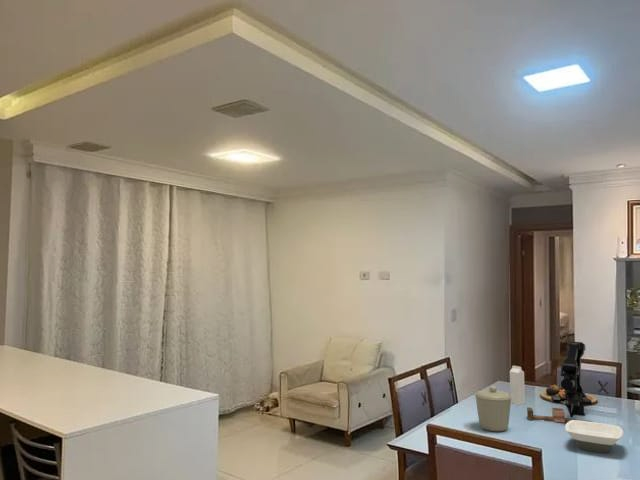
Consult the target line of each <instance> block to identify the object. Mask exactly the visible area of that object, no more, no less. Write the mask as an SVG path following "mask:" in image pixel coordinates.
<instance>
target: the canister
mask: <svg viewBox="0 0 640 480" xmlns="http://www.w3.org/2000/svg"><path fill="white" fill-rule="evenodd" d="M473 396H474V397H475V400H476V401H475V402H476V410H477V417H478V422H479V426H480V427H481V428H482V429H484V430H486V431H488V432H489V431H490V432H504V431H506V430H507V429H508V427H509V425H510V424H509V423H510V415H511V405H512V403H511V399H512V396H511V395H510V393H509V392H506V391H503V390H499V389H497V387H496V386H495V385H490V386H489V387H488V389H481V390H478V391H476V392H475V393H474V394H473Z"/></svg>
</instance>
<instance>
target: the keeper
mask: <svg viewBox="0 0 640 480" xmlns="http://www.w3.org/2000/svg"><path fill="white" fill-rule="evenodd" d="M551 409H552V417H554V422H553V423H563V424H564V423H565V418H566V417H565V416H566V414H565V413H566V412H565V410H564V409H563V407H562V408H560V407H559V408H558V407H552V408H551ZM565 424H566V423H565Z"/></svg>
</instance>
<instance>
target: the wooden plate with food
mask: <svg viewBox="0 0 640 480" xmlns="http://www.w3.org/2000/svg"><path fill="white" fill-rule="evenodd" d="M552 395H554V396H559V397H560V398H565V390H564V389H563V388H562V386H560V387H559V386H557V385H556V384H553V385H550V386H548V387H547V388H546V389H545V391H543V392H540V394H539V396H540V399H542V400H545V401H548V402H551V403H552V401H551V396H552ZM585 395H586V398H589V399H590V400H591V401H592V405H591V406H594V405H596V404H598V398H596V397H595V396H593V395H589V394H586V393H585ZM559 404H561V405H564V404H563V402H562V401H561V402H560V403H559ZM584 406H586V405H585V404H584Z"/></svg>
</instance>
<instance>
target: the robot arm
mask: <svg viewBox="0 0 640 480" xmlns="http://www.w3.org/2000/svg"><path fill="white" fill-rule="evenodd" d="M567 351H568V352H567V357H566V358H565V359H564V360H563V361H562V363H561V369H560V370H561V371H560V376H561V377H563V379H562V380H561V381H560V387H562V388H563V389H564V390H565V398H560V397H559V396H554V395H552V396H551V401H552V402H551V401H550V402H551V403H553V404H561V403H560V402H561V401H562V402H563V404H562V405H564V406H565V407H566V409H567V410H568V414H569V416H570V418H573V417H574V416H586V414H585V406H593V405H592V401H591V400H590V399H589V398H586V395H587V394H586V393H585V391H584V390H585V389H584V388H583V386H582V384H581V383H582V382H581V381H582V358H583V356H584V355H585V351H586V344H585V343H583V341H568V342H567ZM585 394H586V395H585ZM584 404H585V405H584Z"/></svg>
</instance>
